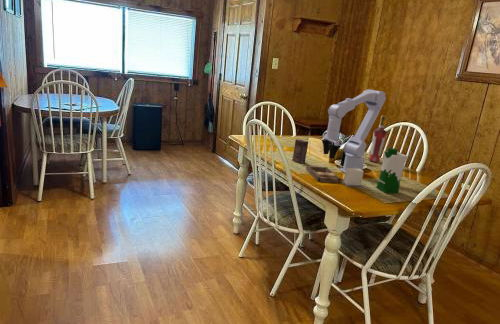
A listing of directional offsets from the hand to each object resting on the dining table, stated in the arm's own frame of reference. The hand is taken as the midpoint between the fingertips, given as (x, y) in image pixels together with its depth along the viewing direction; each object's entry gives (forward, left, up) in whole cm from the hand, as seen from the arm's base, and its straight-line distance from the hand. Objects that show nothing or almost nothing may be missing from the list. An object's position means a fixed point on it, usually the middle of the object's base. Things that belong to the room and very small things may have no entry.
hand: (328, 156), depth 181 cm
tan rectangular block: (+3, +8, -10) cm, 13 cm away
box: (+8, -20, -10) cm, 24 cm away
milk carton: (-23, +20, -10) cm, 32 cm away
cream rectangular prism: (-8, +14, -9) cm, 18 cm away
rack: (+3, +3, -9) cm, 10 cm away
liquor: (-44, -32, -10) cm, 55 cm away
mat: (-8, +14, -9) cm, 19 cm away
